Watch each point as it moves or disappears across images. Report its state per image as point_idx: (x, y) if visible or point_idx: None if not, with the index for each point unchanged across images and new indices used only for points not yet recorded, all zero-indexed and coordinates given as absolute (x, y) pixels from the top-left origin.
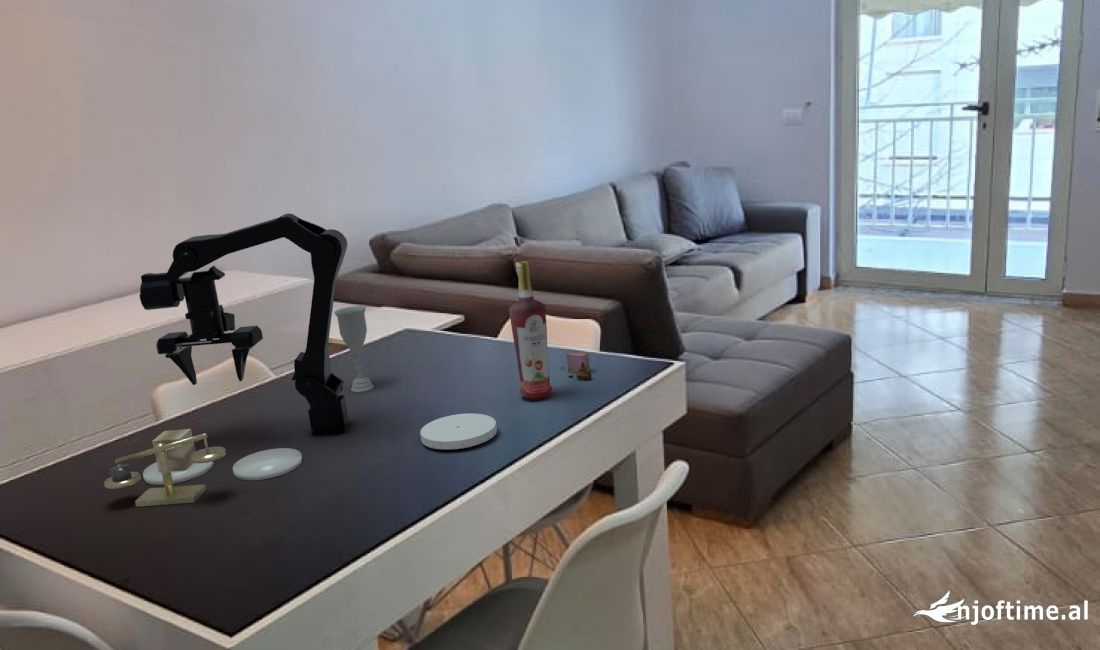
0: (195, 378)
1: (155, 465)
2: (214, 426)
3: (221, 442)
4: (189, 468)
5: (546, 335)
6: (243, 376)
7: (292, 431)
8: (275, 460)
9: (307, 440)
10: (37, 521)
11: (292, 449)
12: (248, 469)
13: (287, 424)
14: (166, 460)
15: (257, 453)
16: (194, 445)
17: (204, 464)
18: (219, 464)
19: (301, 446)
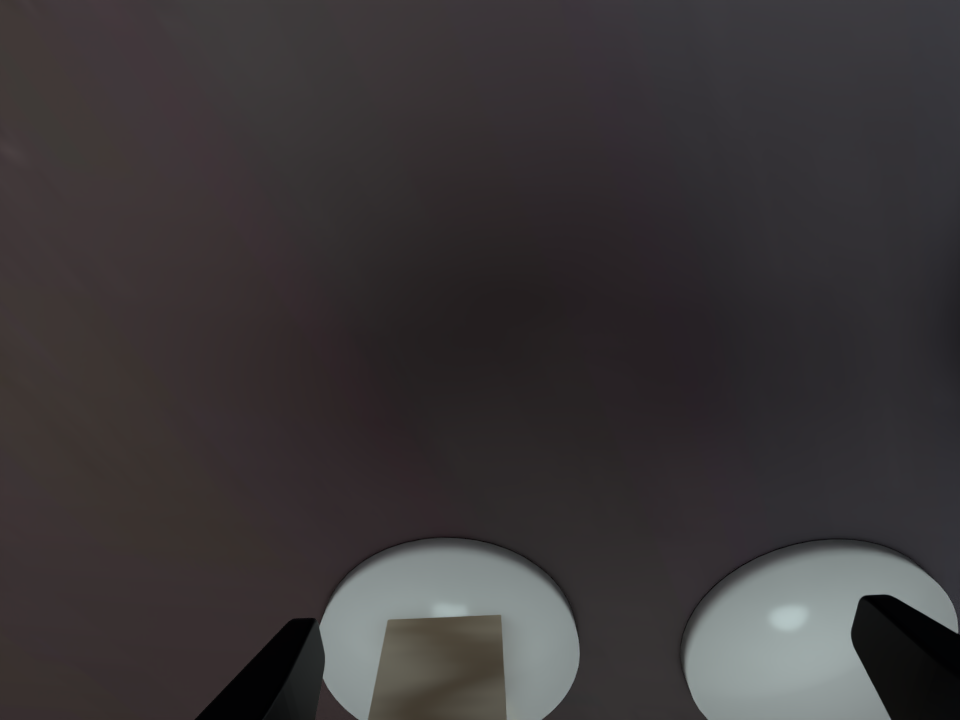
0: (298, 682)
1: (341, 646)
2: (310, 110)
3: (492, 381)
4: (511, 682)
5: None
6: (926, 620)
7: (857, 281)
8: (852, 657)
9: (950, 416)
10: None
11: (914, 574)
12: (760, 711)
13: (809, 155)
14: None
15: (759, 592)
16: (503, 671)
17: (558, 659)
18: (594, 604)
19: (924, 480)
